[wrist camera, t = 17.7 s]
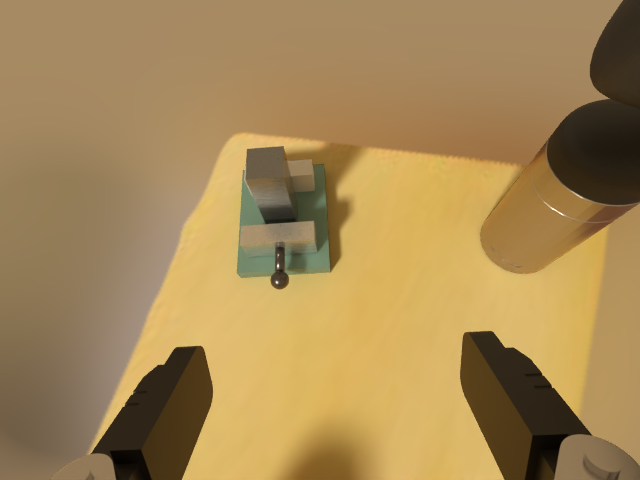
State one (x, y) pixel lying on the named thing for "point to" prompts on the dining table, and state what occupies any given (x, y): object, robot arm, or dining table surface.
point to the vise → (310, 208)
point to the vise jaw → (279, 244)
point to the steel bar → (271, 184)
